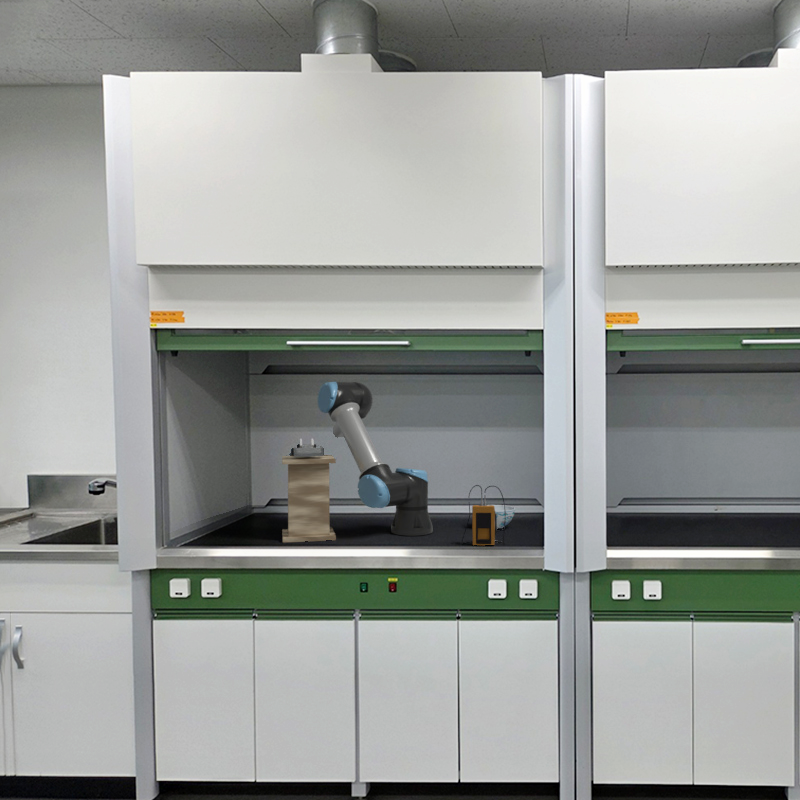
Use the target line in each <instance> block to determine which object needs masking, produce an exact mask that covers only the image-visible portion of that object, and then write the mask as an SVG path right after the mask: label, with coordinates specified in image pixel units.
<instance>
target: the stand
mask: <svg viewBox="0 0 800 800" xmlns="http://www.w3.org/2000/svg"><path fill="white" fill-rule="evenodd" d="M281 459H282V460H281V462H282V465H287V528H282V530H281V531H282V533H281V534H282V543H304V542H305V541H308V542H325V541H326V540H332V541H337V535H336V533H335V531H334V528H333V526H332V527H331V526H330V525H331V524H330V521H331V520H330V464H329V463H331V464H336V462H337V458H336V459H335V458H334V457H333V456H332V455H324V456H314V457H294V456H287V455H282V456H281ZM305 543H306V542H305Z"/></svg>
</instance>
